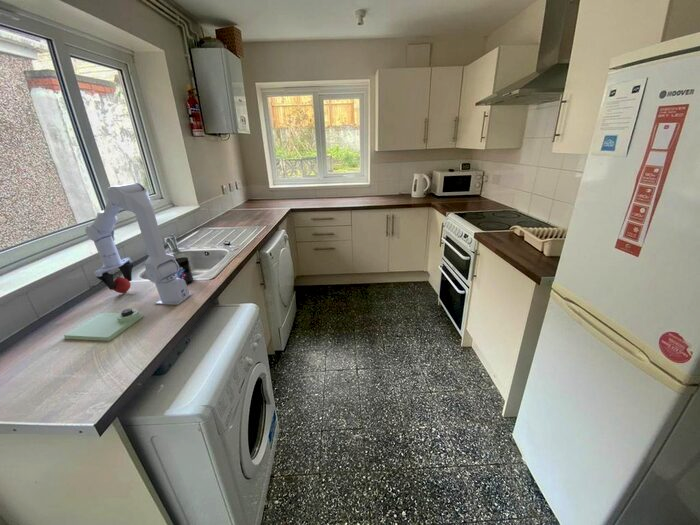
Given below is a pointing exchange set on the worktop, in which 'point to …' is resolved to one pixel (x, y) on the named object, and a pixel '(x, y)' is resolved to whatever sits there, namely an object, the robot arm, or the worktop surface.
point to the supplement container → (184, 270)
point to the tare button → (126, 312)
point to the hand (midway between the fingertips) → (121, 284)
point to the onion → (121, 284)
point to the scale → (104, 326)
